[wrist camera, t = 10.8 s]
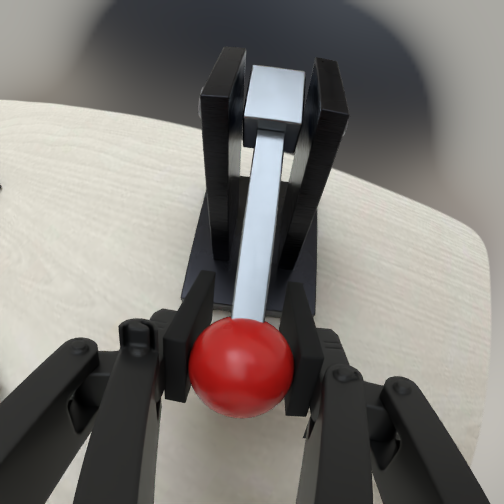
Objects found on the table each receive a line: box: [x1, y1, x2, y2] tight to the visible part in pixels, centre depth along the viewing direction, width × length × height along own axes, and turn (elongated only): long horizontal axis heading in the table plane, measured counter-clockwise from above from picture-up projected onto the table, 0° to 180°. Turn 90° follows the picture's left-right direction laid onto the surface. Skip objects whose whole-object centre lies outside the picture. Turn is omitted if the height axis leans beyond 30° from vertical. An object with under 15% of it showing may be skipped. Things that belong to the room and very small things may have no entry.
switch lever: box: [188, 65, 306, 418], centre depth 11 cm, size 13×4×4 cm, turn 173°
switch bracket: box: [181, 47, 349, 318], centre depth 16 cm, size 10×8×13 cm
